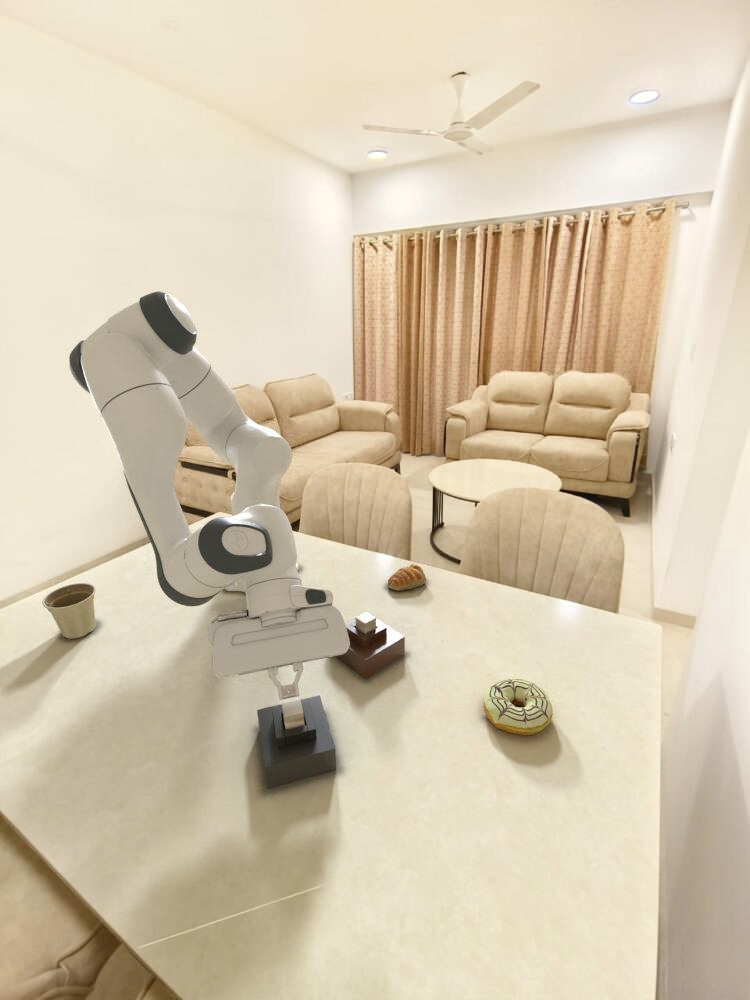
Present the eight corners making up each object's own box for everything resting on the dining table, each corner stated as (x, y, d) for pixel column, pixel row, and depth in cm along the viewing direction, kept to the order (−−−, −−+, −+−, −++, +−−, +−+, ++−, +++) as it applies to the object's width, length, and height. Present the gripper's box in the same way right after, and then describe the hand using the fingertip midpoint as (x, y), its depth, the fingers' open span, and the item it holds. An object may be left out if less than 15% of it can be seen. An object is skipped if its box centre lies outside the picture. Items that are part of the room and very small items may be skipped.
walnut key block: (328, 650, 98) (327, 625, 96) (366, 629, 104) (366, 604, 102) (365, 679, 90) (365, 652, 88) (404, 654, 96) (404, 628, 94)
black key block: (259, 729, 80) (255, 700, 78) (321, 715, 83) (319, 686, 80) (267, 789, 70) (263, 757, 68) (336, 770, 73) (334, 739, 71)
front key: (282, 716, 75) (281, 703, 74) (301, 712, 76) (300, 699, 75) (285, 730, 73) (284, 717, 72) (304, 726, 73) (303, 712, 72)
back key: (355, 628, 95) (355, 617, 94) (366, 622, 97) (366, 611, 96) (365, 635, 93) (364, 623, 92) (376, 628, 95) (376, 617, 94)
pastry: (399, 596, 115) (399, 582, 114) (380, 585, 120) (380, 571, 119) (428, 583, 121) (428, 569, 119) (409, 572, 126) (409, 559, 124)
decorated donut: (477, 691, 87) (478, 674, 86) (539, 691, 87) (541, 673, 86) (490, 740, 77) (491, 721, 76) (559, 739, 77) (562, 720, 76)
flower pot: (58, 650, 99) (47, 614, 95) (48, 629, 105) (38, 594, 102) (109, 631, 104) (100, 595, 101) (97, 612, 111) (88, 578, 108)
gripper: (204, 612, 72) (213, 713, 67) (341, 589, 78) (359, 681, 73) (208, 620, 78) (217, 714, 73) (336, 599, 84) (352, 685, 78)
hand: (289, 698), depth 73 cm, fingers closed
